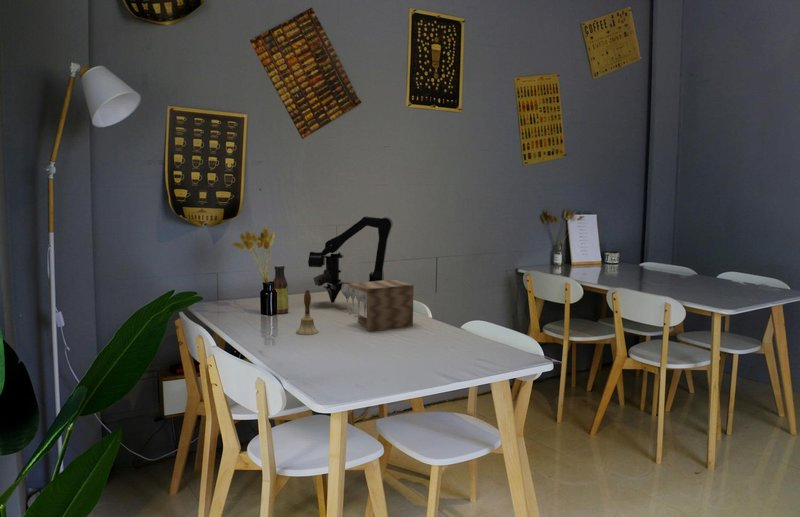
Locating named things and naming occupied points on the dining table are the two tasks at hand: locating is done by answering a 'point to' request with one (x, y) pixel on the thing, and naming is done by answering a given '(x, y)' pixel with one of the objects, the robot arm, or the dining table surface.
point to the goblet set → (353, 292)
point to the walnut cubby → (386, 304)
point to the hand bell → (307, 318)
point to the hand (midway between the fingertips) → (332, 302)
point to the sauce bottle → (281, 289)
